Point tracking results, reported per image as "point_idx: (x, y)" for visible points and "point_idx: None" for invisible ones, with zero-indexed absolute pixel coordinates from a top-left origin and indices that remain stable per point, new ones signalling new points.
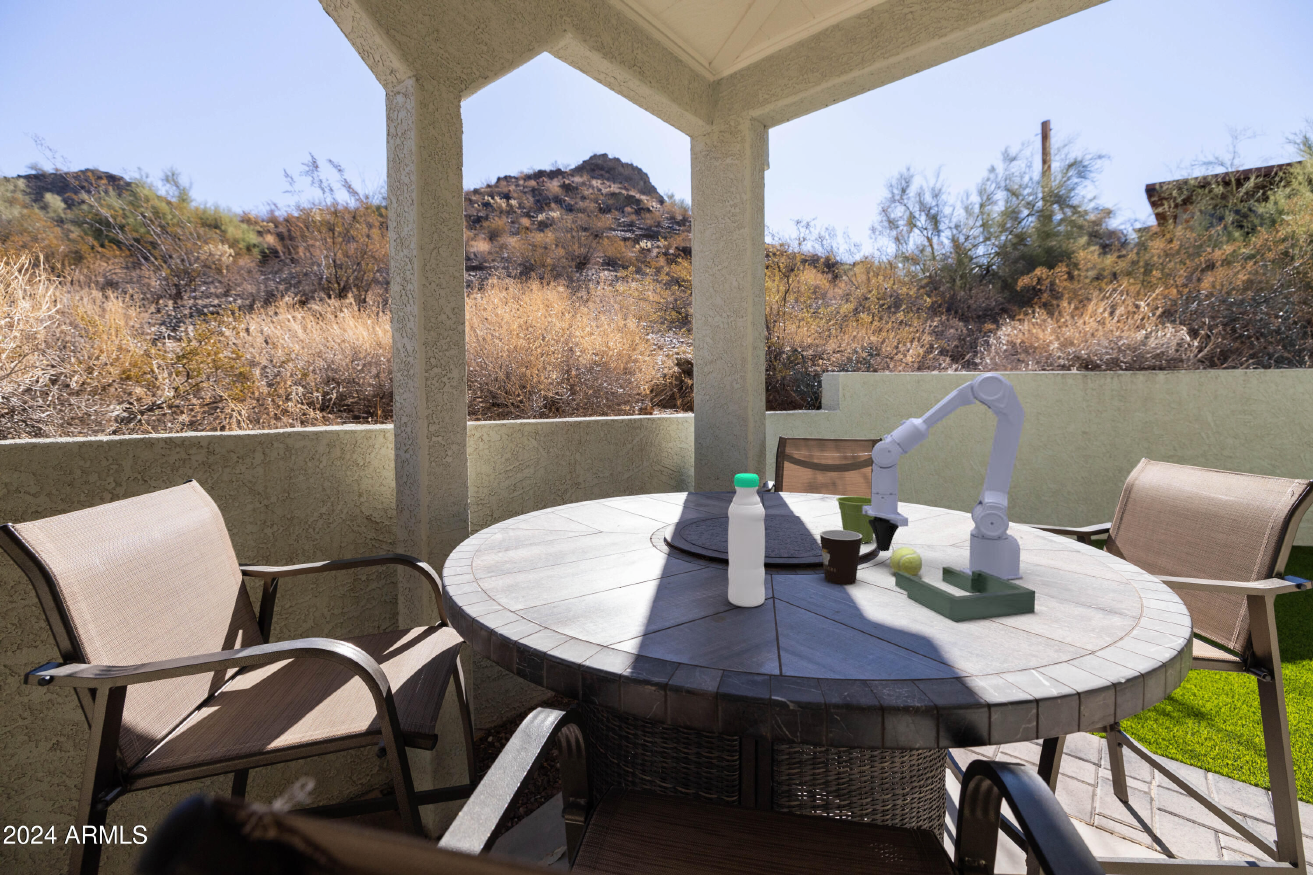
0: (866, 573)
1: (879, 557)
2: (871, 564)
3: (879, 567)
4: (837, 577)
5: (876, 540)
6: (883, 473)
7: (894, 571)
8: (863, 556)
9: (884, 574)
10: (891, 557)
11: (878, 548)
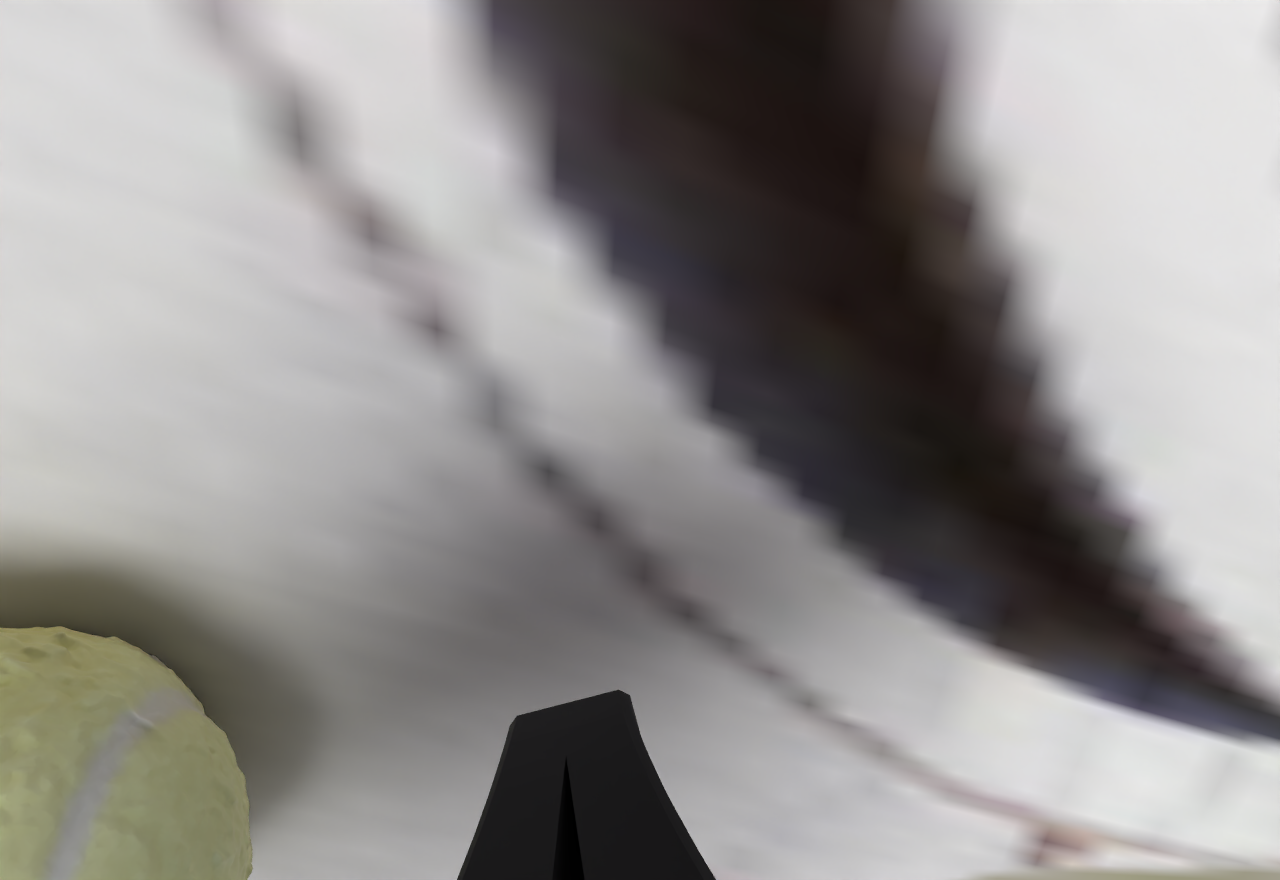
0: (28, 176)
1: (904, 643)
2: (595, 445)
3: (434, 508)
4: None
5: (642, 836)
6: None
7: (26, 628)
8: (1001, 463)
9: (38, 465)
10: None
11: (594, 715)
